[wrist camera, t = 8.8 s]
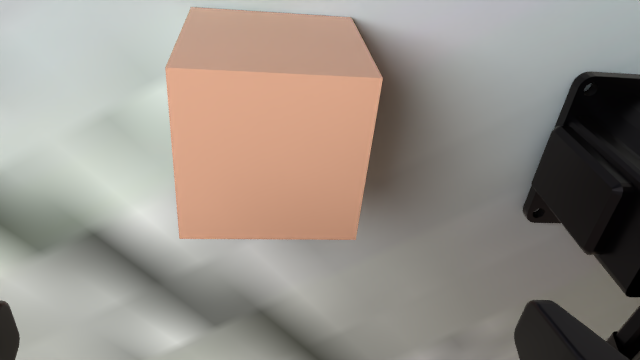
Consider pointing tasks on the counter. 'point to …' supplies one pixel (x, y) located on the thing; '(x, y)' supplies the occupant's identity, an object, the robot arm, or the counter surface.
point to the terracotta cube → (270, 124)
